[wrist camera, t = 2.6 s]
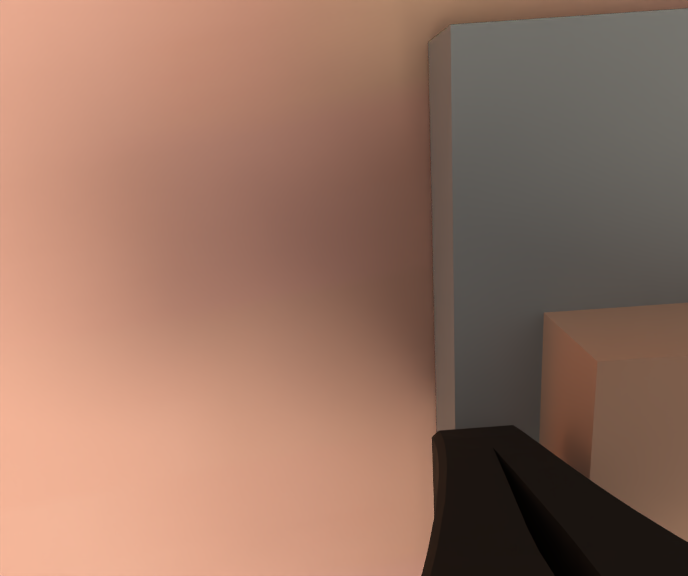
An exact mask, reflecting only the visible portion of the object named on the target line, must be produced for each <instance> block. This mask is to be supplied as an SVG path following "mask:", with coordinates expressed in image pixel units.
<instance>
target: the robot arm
mask: <svg viewBox="0 0 688 576" xmlns="http://www.w3.org/2000/svg"><path fill="white" fill-rule="evenodd" d="M432 453H433V486H434V522H433V527H432V532H431V537H430V542H429V547H428V552H427V556H426V560H425V564H424V568H423V572H422V575H421V576H688V542H687V541H685V540H683V539H682V538H680V537H678V536H677V535H675V534H673V533H672V532H670V531H668V530H667V529H665V528H664V527H662V526H660V525H659V524H657V523H655V522H654V521H652V520H651V519H649V518H647V517H646V516H644V515H642V514H641V513H639V512H638V511H636V510H634V509H633V508H631V507H630V506H628V505H627V504H625V503H624V502H622V501H621V500H619V499H618V498H616V497H614V496H613V495H612V494H610V493H609V492H607V491H606V490H604V489H603V488H601V487H600V486H598V485H597V484H595V483H594V482H592V481H591V480H590V479H588V478H587V477H585V476H584V475H582V474H581V473H580V472H578V471H577V470H575V469H574V468H573V467H571V466H570V465H568V464H567V463H566V462H564V461H563V460H562V459H560V458H559V457H557V456H556V455H555V454H553V453H552V452H551V451H549V450H548V449H546V448H545V447H544V446H542V445H541V444H540V443H538V442H537V441H535V440H534V439H533V438H531V437H530V436H529V435H527V434H526V433H524V432H523V431H521V430H520V429H518V428H517V427H515V426H514V425H507V426H493V427H479V428H466V429H452V430H439V431H438V432H437V433H436V434H435V435H434V436H433V437H432Z"/></svg>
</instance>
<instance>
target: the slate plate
mask: <svg viewBox="0 0 688 576" xmlns="http://www.w3.org/2000/svg"><path fill="white" fill-rule="evenodd" d="M428 61H429V107H430V152H431V198H432V243H433V289H434V335H435V380H436V426H437V432H438V431H439V430H452V429H466V428H479V427H493V426H507V425H514V426H515V427H517V428H518V429H520V430H521V431H523V432H524V433H526V434H527V435H529V436H530V437H531V438H533V439H534V440H535V441H537V442H538V443H539V433H540V406H541V378H542V350H543V323H544V313H545V312H559V311H574V310H588V309H603V308H617V307H632V306H646V305H660V304H675V303H688V8H685V9H670V10H656V11H641V12H626V13H612V14H597V15H583V16H568V17H553V18H539V19H524V20H509V21H495V22H480V23H466V24H451V25H449V26H448V27H447V28H446V29H444V30H443V31H442V32H440V33H439V34H438V35H437V36H435V37H434V38H433V39H432V40H430V41H429V42H428Z"/></svg>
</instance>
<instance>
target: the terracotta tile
mask: <svg viewBox="0 0 688 576" xmlns="http://www.w3.org/2000/svg"><path fill="white" fill-rule="evenodd" d="M539 443H540V444H541V445H542V446H544V447H545V448H546V449H548V450H549V451H551V452H552V453H553V454H555V455H556V456H557V457H559V458H560V459H562V460H563V461H564V462H566V463H567V464H568V465H570V466H571V467H573V468H574V469H575V470H577V471H578V472H580V473H581V474H582V475H584V476H585V477H587V478H588V479H590V480H591V481H592V482H594V483H595V484H597V485H598V486H600V487H601V488H603V489H604V490H606V491H607V492H609V493H610V494H612V495H613V496H614V497H616V498H618V499H619V500H621V501H622V502H624V503H625V504H627V505H628V506H630V507H631V508H633V509H634V510H636V511H638V512H639V513H641V514H642V515H644V516H646V517H647V518H649V519H651V520H652V521H654V522H655V523H657V524H659V525H660V526H662V527H664V528H665V529H667V530H668V531H670V532H672V533H673V534H675V535H677V536H678V537H680V538H682V539H683V540H685V541H687V542H688V303H675V304H660V305H646V306H632V307H617V308H603V309H588V310H574V311H559V312H545V313H544V323H543V350H542V378H541V406H540V433H539Z"/></svg>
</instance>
